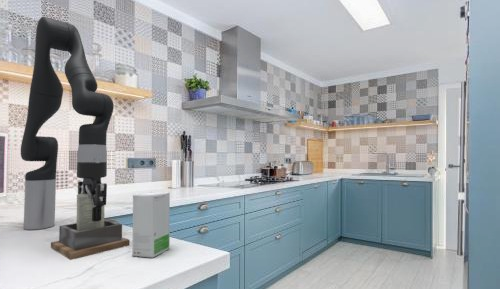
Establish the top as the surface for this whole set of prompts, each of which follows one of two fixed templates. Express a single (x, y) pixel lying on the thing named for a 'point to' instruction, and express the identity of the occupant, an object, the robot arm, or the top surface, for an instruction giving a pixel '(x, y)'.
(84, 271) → the top surface
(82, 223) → the skincare box
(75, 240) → the sleeve holder
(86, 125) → the robot arm
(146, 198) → the skincare box
